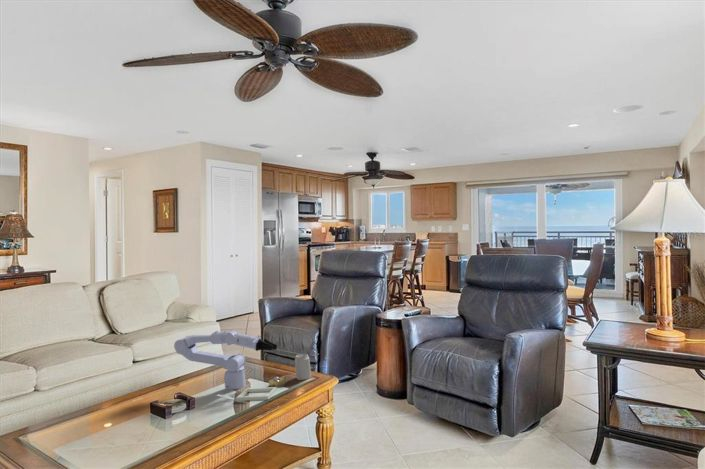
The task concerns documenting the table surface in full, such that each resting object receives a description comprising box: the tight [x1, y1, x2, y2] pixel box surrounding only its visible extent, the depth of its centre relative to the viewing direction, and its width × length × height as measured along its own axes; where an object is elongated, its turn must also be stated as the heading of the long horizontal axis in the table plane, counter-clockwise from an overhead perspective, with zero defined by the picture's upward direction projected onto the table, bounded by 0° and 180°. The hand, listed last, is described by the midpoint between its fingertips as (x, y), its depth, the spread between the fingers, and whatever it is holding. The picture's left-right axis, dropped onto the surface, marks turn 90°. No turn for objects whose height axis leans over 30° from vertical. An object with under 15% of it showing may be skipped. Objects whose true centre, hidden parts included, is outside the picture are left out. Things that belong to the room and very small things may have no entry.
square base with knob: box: [266, 376, 288, 389], centre depth 207 cm, size 8×8×4 cm
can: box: [294, 353, 312, 381], centre depth 214 cm, size 8×8×12 cm
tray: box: [235, 387, 278, 403], centre depth 195 cm, size 15×11×2 cm
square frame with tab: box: [268, 375, 287, 387], centre depth 208 cm, size 8×5×2 cm
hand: (274, 347), depth 207 cm, fingers open, 7 cm apart
